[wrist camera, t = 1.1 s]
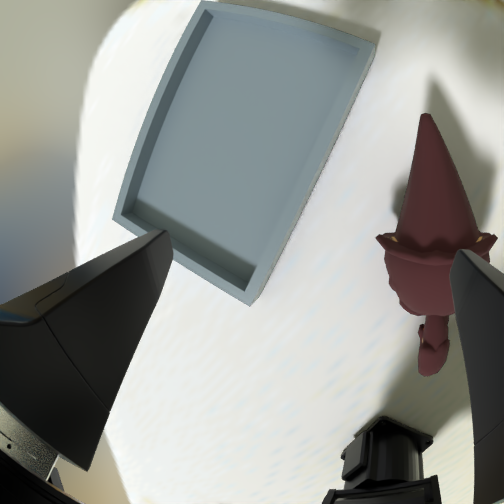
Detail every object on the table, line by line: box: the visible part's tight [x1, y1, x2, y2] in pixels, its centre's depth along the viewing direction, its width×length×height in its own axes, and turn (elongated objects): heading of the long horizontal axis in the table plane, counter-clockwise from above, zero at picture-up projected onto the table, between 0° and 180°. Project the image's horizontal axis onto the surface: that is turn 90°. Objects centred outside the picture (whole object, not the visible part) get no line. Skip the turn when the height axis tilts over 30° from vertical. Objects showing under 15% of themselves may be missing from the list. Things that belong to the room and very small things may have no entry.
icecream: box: [376, 113, 498, 376], centre depth 15 cm, size 7×7×15 cm
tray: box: [112, 0, 375, 307], centre depth 21 cm, size 14×20×2 cm
